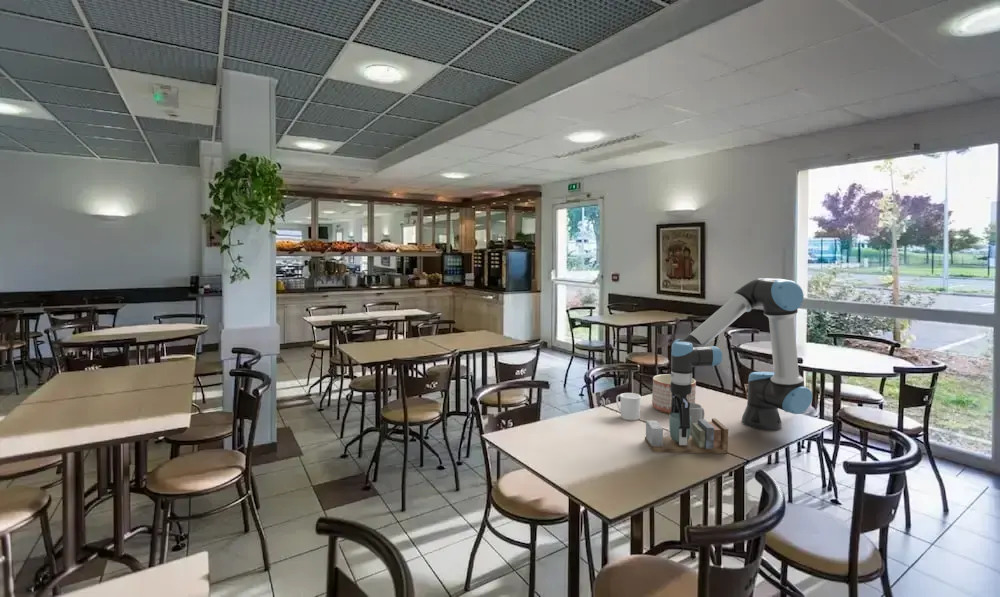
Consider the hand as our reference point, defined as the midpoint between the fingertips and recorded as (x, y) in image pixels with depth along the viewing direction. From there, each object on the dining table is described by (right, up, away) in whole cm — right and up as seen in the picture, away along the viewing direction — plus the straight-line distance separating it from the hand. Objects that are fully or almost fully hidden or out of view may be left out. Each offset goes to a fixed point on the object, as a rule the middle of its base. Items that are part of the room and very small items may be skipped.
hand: (679, 440), depth 189 cm
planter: (+13, +2, +44) cm, 46 cm away
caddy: (+2, -2, 0) cm, 3 cm away
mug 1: (-11, +1, +33) cm, 35 cm away
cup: (0, 0, 0) cm, 0 cm away
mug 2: (+12, -1, +17) cm, 21 cm away
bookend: (-10, -1, 0) cm, 10 cm away
